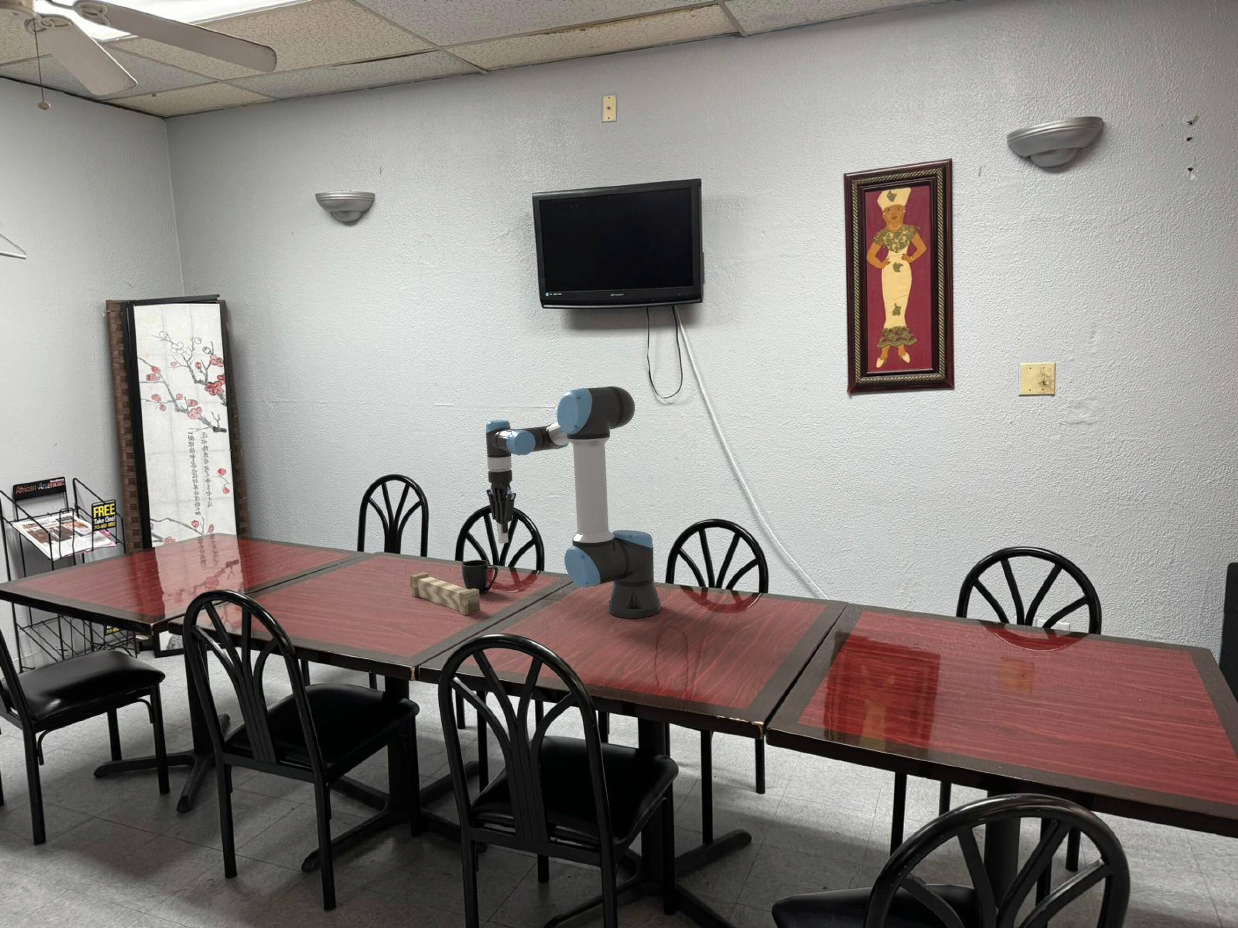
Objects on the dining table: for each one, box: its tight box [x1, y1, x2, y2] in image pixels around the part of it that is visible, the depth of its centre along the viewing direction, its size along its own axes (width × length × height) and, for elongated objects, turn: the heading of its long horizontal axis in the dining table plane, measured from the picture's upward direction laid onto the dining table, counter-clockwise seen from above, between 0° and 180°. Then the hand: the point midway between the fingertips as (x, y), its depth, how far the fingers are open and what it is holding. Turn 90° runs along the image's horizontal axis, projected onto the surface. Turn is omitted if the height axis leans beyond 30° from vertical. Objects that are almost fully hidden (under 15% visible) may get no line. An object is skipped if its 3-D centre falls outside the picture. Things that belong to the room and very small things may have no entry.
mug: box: [461, 559, 499, 596], centre depth 276 cm, size 8×12×10 cm
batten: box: [409, 571, 481, 616], centre depth 267 cm, size 30×5×6 cm, turn 44°
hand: (503, 542), depth 281 cm, fingers closed
